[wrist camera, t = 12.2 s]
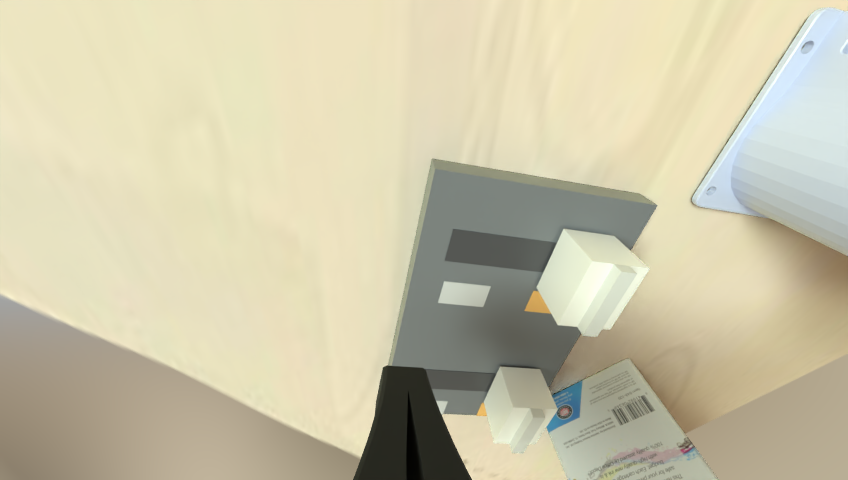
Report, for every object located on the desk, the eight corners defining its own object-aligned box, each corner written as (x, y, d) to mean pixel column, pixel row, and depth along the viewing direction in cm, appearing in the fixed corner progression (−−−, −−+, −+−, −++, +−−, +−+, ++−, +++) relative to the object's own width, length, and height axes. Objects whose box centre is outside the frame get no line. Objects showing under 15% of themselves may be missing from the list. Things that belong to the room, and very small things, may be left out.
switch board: (431, 158, 17) (435, 169, 16) (639, 193, 19) (658, 205, 18) (382, 393, 27) (381, 411, 25) (524, 400, 29) (531, 417, 27)
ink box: (574, 439, 33) (653, 616, 23) (534, 401, 29) (608, 593, 19) (660, 402, 30) (790, 579, 21) (629, 354, 27) (770, 545, 17)
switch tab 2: (563, 228, 18) (599, 268, 15) (614, 235, 18) (658, 276, 15) (536, 287, 20) (562, 334, 17) (582, 292, 20) (616, 338, 17)
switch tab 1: (500, 366, 23) (516, 416, 20) (540, 369, 24) (562, 418, 21) (483, 401, 25) (496, 452, 22) (521, 403, 26) (538, 453, 23)
